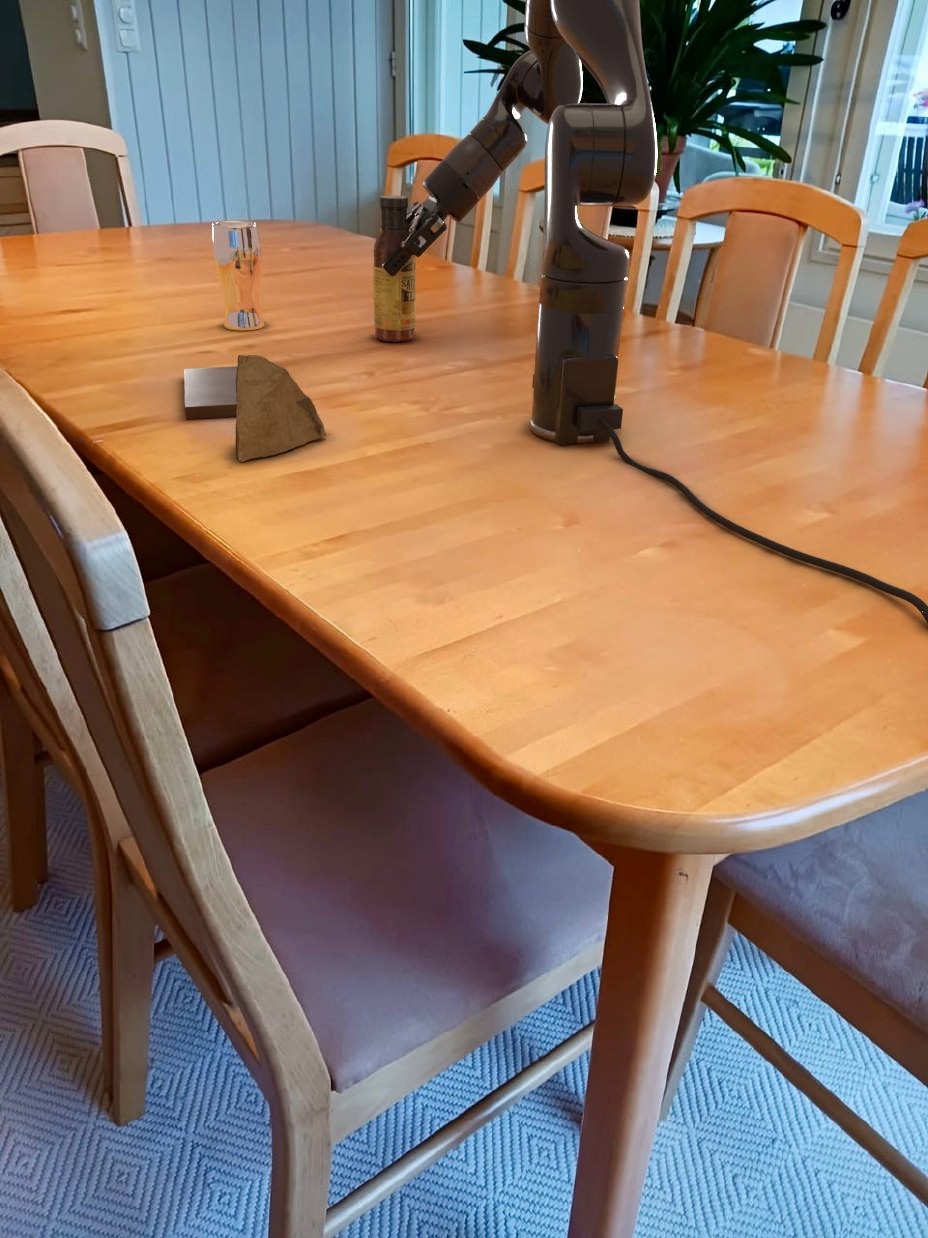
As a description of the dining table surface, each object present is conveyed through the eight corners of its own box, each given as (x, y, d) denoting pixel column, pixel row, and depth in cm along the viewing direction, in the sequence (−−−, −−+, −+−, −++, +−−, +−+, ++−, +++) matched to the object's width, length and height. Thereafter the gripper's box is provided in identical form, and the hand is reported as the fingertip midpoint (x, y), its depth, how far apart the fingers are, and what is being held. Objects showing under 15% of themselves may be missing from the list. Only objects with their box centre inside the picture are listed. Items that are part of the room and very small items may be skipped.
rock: (325, 404, 107) (235, 395, 105) (333, 357, 100) (237, 346, 97) (324, 487, 103) (231, 479, 101) (333, 444, 96) (232, 435, 93)
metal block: (290, 413, 112) (289, 401, 111) (186, 419, 109) (184, 407, 108) (279, 375, 125) (278, 364, 124) (185, 380, 122) (184, 368, 121)
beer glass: (212, 327, 146) (200, 224, 139) (241, 318, 152) (231, 218, 144) (247, 333, 143) (237, 228, 136) (275, 324, 149) (267, 222, 141)
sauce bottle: (409, 344, 140) (408, 200, 130) (369, 341, 141) (365, 198, 131) (420, 334, 146) (420, 194, 135) (381, 331, 147) (378, 192, 136)
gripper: (433, 153, 138) (356, 240, 142) (457, 162, 126) (372, 257, 130) (467, 192, 142) (391, 276, 146) (493, 205, 130) (410, 295, 134)
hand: (383, 266), depth 138 cm, fingers closed on sauce bottle, 6 cm apart
